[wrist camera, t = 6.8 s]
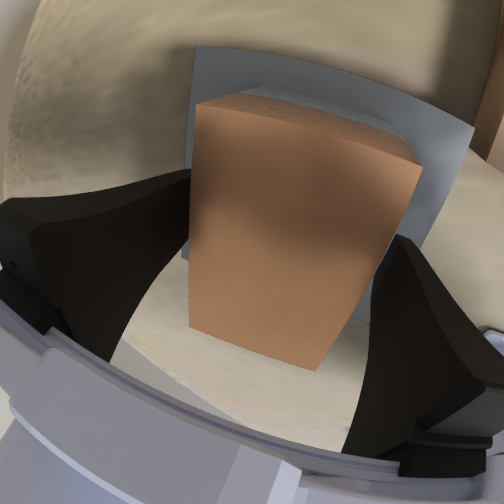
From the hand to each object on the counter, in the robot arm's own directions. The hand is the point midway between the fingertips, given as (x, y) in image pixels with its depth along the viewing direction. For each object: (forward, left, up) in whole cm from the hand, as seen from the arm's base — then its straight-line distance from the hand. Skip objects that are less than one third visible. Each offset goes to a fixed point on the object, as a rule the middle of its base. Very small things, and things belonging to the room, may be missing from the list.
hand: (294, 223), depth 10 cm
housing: (0, 0, -2) cm, 2 cm away
